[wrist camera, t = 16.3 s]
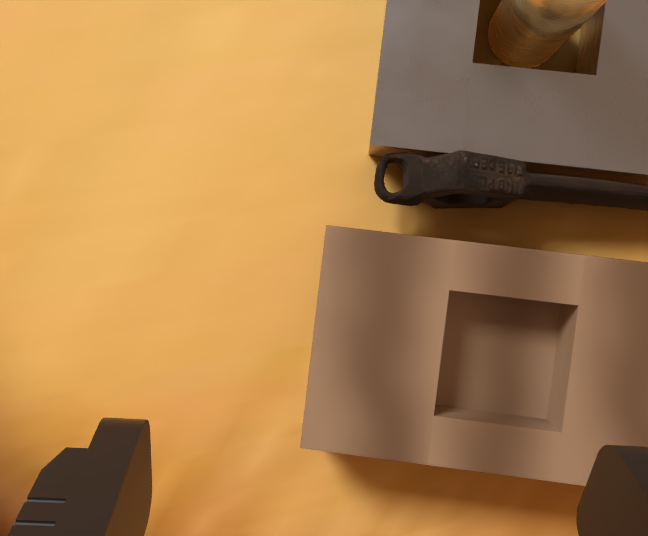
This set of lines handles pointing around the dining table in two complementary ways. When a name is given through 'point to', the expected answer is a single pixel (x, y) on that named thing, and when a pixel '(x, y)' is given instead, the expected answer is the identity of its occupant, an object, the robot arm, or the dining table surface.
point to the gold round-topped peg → (535, 28)
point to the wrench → (495, 183)
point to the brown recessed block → (476, 355)
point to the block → (515, 94)
